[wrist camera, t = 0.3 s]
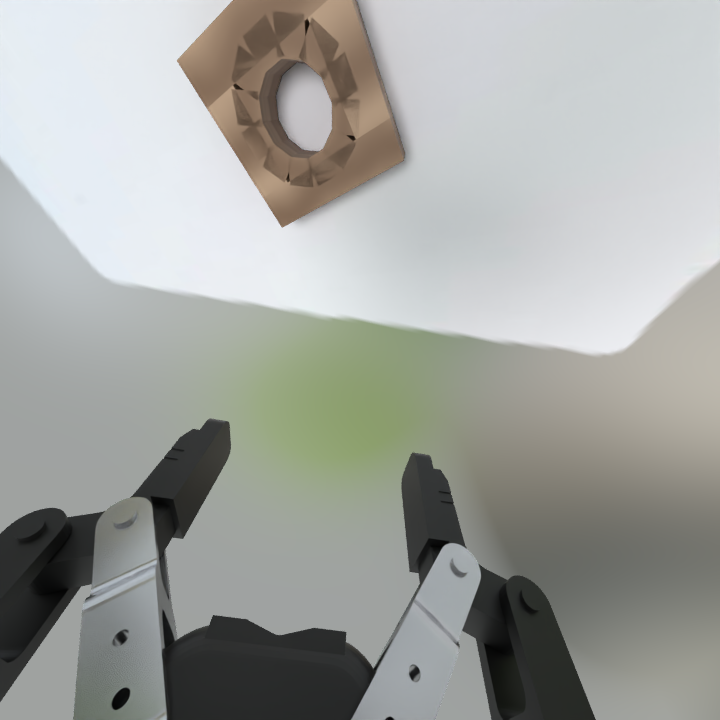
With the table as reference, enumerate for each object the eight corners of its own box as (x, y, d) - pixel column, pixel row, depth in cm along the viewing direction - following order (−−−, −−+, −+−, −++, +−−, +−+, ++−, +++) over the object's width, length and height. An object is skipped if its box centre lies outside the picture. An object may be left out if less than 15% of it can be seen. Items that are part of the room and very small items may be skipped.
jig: (203, 63, 25) (176, 60, 22) (335, -68, 20) (321, -95, 17) (293, 215, 33) (282, 227, 31) (404, 153, 28) (403, 160, 25)
